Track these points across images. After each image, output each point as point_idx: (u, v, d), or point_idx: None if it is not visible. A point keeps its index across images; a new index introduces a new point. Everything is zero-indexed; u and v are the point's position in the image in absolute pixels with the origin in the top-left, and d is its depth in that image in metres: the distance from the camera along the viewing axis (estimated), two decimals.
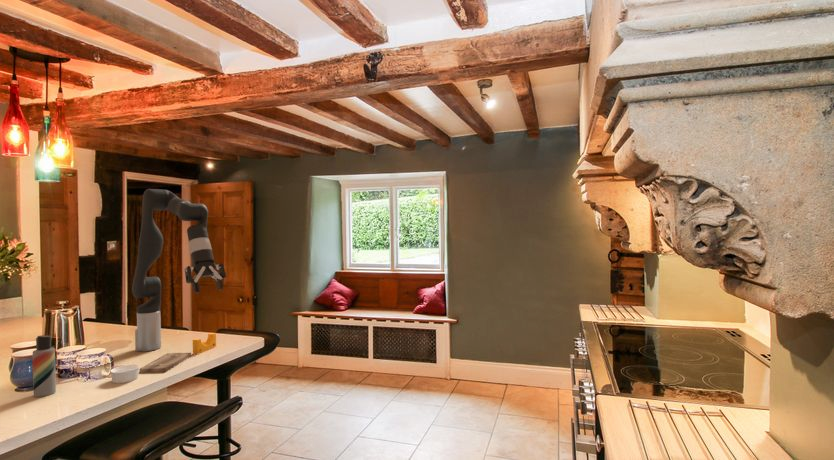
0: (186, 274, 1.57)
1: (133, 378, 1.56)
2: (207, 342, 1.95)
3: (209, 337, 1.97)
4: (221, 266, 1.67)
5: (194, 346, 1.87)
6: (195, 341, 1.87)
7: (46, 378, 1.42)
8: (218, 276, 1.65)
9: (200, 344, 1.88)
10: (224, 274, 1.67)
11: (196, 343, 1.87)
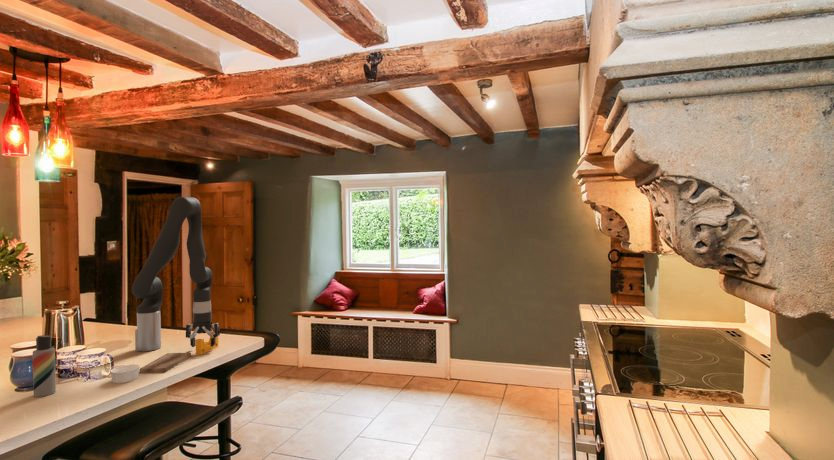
0: None
1: (133, 378, 1.56)
2: (209, 342, 1.95)
3: None
4: (215, 326, 1.92)
5: (197, 346, 1.87)
6: (198, 342, 1.87)
7: (46, 378, 1.42)
8: (210, 335, 1.92)
9: (203, 344, 1.88)
10: (216, 334, 1.92)
11: (199, 343, 1.86)
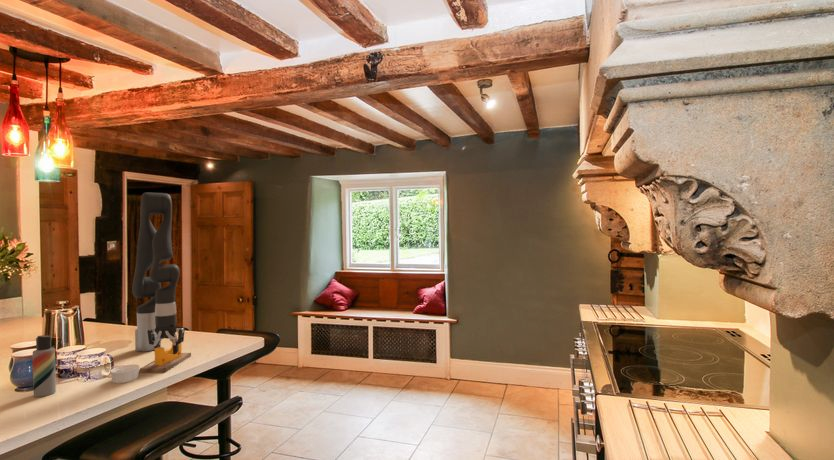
0: None
1: (133, 378, 1.56)
2: (171, 351, 1.76)
3: None
4: (179, 332, 1.73)
5: (156, 356, 1.68)
6: (158, 350, 1.68)
7: (46, 378, 1.42)
8: (173, 341, 1.73)
9: (163, 353, 1.69)
10: (179, 340, 1.73)
11: (159, 353, 1.67)
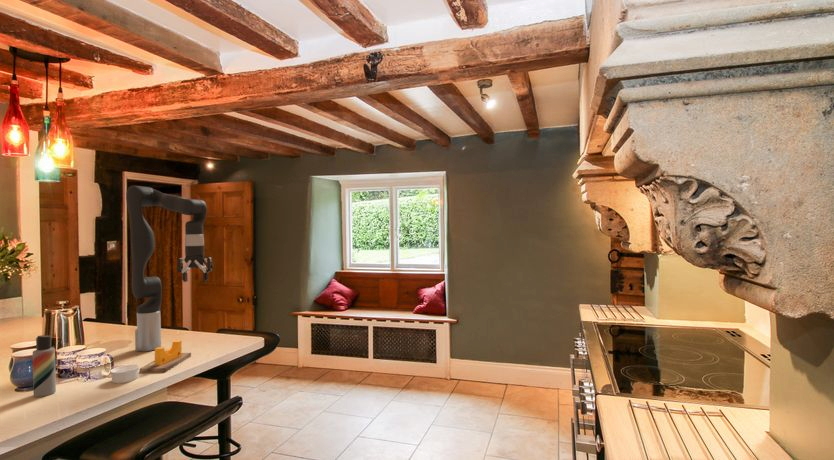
0: None
1: (133, 378, 1.56)
2: (171, 351, 1.76)
3: (174, 345, 1.77)
4: (207, 260, 1.86)
5: (156, 356, 1.68)
6: (158, 350, 1.68)
7: (46, 378, 1.42)
8: (203, 269, 1.86)
9: (163, 353, 1.69)
10: (209, 268, 1.86)
11: (159, 353, 1.67)
